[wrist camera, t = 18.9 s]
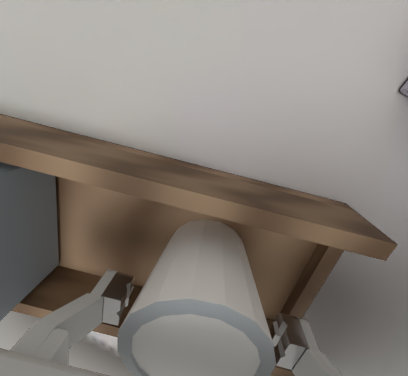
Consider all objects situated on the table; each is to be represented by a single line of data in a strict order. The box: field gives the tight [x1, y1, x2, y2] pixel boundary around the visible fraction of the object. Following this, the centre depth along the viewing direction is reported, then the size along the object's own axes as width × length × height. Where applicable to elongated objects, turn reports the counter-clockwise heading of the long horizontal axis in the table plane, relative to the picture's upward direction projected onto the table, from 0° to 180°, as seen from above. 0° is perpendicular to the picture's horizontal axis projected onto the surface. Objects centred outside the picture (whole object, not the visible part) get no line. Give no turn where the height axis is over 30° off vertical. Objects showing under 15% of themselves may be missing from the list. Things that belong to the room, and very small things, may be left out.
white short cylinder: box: [118, 219, 276, 376], centre depth 12 cm, size 7×7×7 cm
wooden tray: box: [0, 114, 398, 376], centre depth 13 cm, size 26×12×6 cm, turn 76°
